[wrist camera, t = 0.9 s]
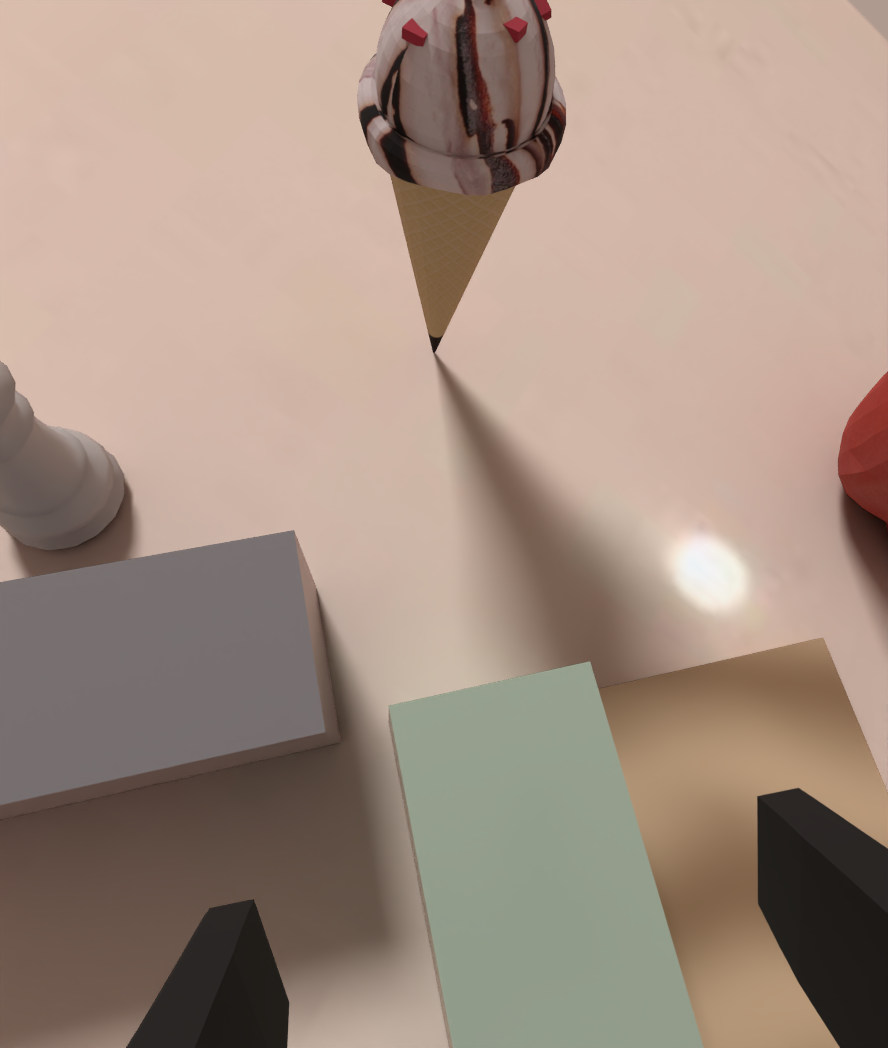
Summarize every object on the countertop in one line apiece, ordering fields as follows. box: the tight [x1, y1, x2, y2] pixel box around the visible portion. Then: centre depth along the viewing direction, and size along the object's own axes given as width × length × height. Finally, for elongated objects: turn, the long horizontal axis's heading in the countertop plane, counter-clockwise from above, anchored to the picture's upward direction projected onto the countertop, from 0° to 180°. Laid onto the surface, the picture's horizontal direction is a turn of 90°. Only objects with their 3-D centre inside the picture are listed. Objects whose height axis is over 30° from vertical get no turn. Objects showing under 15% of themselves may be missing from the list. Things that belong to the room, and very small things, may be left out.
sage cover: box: [389, 661, 704, 1048], centre depth 18 cm, size 13×6×6 cm, turn 13°
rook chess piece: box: [0, 361, 124, 550], centre depth 21 cm, size 4×4×8 cm
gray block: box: [0, 530, 341, 820], centre depth 20 cm, size 13×6×6 cm, turn 103°
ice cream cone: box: [357, 0, 566, 353], centre depth 21 cm, size 6×6×15 cm
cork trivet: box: [598, 638, 888, 1048], centre depth 21 cm, size 16×9×1 cm, turn 13°
